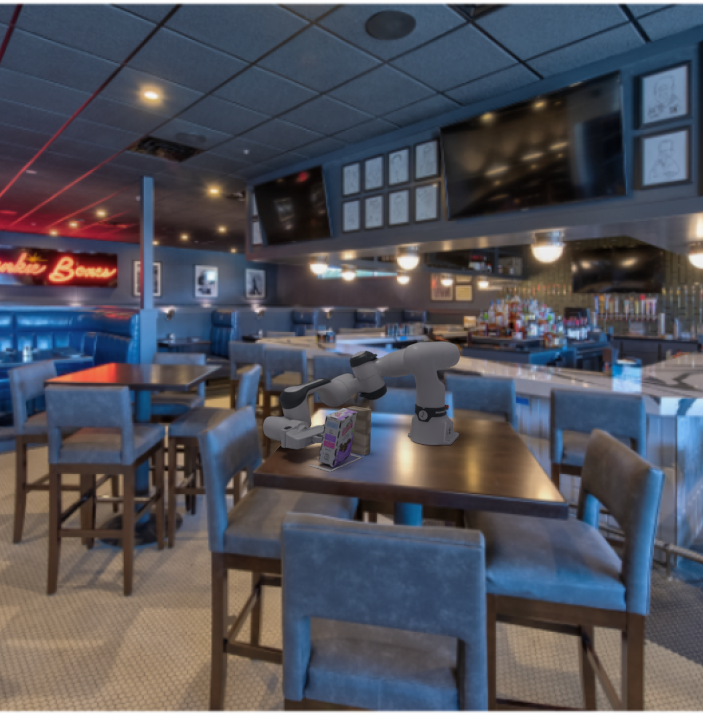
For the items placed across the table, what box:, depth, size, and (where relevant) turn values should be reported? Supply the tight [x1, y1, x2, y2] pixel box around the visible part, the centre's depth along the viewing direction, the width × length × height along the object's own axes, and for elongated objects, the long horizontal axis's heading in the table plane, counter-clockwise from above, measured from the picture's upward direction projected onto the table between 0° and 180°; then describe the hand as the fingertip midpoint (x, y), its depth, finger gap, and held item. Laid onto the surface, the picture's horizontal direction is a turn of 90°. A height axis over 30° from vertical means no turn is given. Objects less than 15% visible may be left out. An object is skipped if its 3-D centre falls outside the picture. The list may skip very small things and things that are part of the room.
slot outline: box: [308, 453, 364, 473], centre depth 158 cm, size 18×9×1 cm, turn 143°
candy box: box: [318, 407, 357, 468], centre depth 158 cm, size 14×6×16 cm, turn 156°
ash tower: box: [346, 405, 372, 457], centre depth 167 cm, size 4×8×16 cm, turn 53°
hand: (328, 440), depth 159 cm, fingers closed
